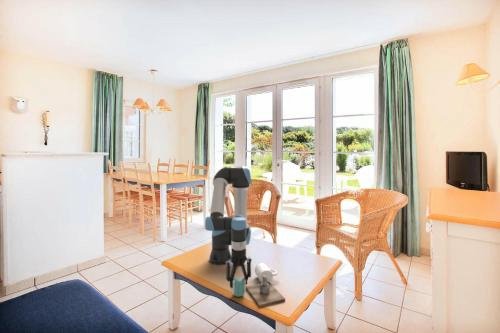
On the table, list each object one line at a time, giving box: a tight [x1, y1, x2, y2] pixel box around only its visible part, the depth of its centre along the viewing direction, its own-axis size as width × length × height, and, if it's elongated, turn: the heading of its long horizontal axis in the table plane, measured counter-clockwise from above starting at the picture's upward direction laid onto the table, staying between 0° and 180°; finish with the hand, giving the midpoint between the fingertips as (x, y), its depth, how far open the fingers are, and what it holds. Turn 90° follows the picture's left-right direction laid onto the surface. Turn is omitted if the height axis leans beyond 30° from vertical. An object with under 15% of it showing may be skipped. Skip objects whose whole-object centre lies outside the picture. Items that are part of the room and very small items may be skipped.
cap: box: [233, 277, 245, 298], centre depth 130 cm, size 5×5×7 cm
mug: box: [254, 262, 278, 283], centre depth 147 cm, size 12×10×8 cm
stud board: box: [246, 276, 286, 308], centre depth 131 cm, size 18×14×10 cm
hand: (238, 291), depth 130 cm, fingers closed on cap, 5 cm apart
